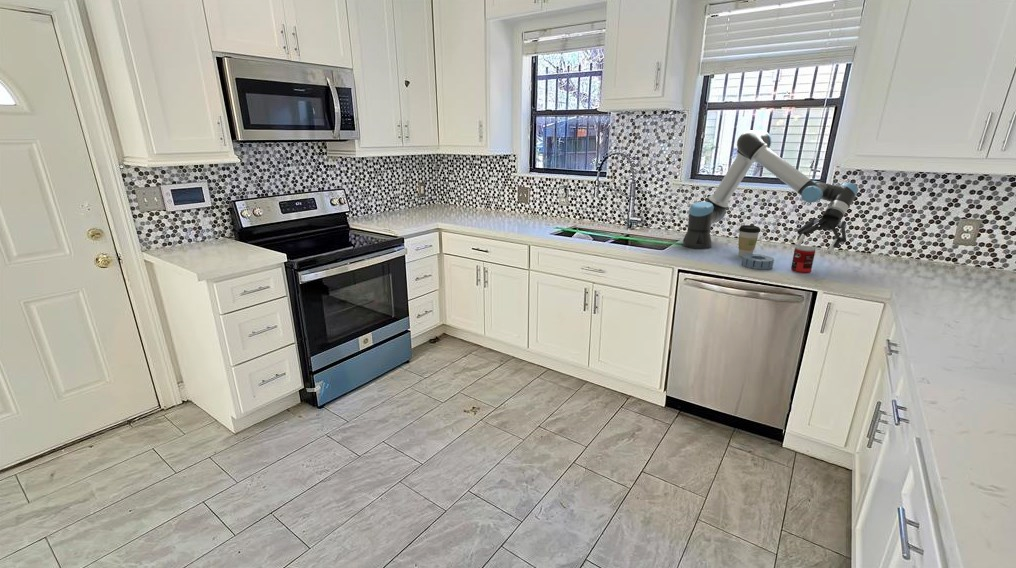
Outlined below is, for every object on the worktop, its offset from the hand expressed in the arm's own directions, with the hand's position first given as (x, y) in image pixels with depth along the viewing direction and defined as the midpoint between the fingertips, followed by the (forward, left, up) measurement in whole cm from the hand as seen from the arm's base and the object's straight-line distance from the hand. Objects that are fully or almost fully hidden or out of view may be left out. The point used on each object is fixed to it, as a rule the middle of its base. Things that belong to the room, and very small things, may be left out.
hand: (812, 249), depth 212 cm
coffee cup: (-30, -1, -10) cm, 32 cm away
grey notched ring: (-17, -13, -10) cm, 23 cm away
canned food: (-1, -5, -10) cm, 11 cm away
